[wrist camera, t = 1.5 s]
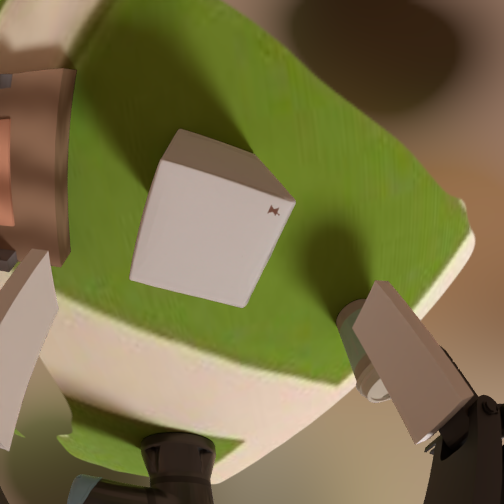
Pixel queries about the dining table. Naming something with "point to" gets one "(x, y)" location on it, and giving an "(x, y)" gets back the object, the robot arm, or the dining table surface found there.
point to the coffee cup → (360, 355)
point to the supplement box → (209, 221)
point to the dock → (34, 164)
